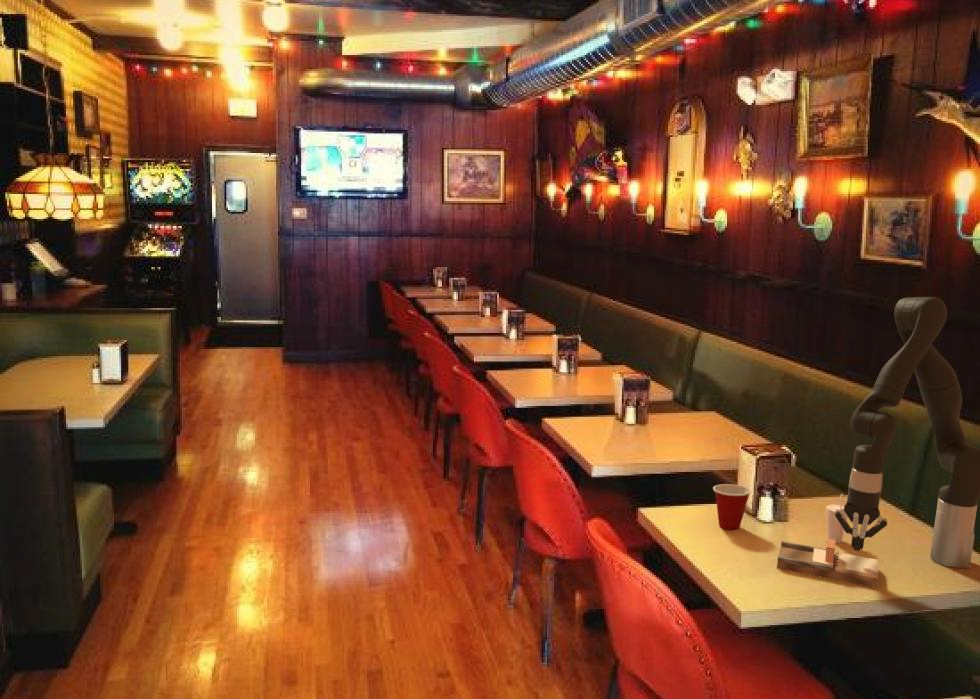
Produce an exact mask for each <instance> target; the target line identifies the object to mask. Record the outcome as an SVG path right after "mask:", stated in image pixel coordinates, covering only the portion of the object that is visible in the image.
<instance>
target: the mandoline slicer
mask: <svg viewBox="0 0 980 699" xmlns="http://www.w3.org/2000/svg"><path fill="white" fill-rule="evenodd" d="M780 543H781V544H780V548H779V553H778V556H777V563H776V569H777V570H778V569H779V570H784V571H788V572H794V573H798V572H799V574H803V573H805V575H809V574H811V575H810V576H814V575H815V577H819V576H821V577H820V578H824V577H825V578H826V579H829V578H830V580H835V581H839V582H844V581H845V582H844V583H850V584H854V585H861V586H864V587H865V586H866V587H871V588H874V589H875V588H876V589H877V587H878V582H879V567H878V559H875V558H869V557H865V556H860V555H859V556H858V555H853V554H848V553H843V552H836V551H835V552H836V553H834V561H833V566H827V565H822V564H817V563H812V561H813V553H814V548H816V549H822V550H826V548H822V547H821V548H820V547H816V546H812V545H811V546H810V545H804V544H800V543H795V542H788V541H784V540H782V541H781V542H780ZM825 578H824V579H825Z"/></svg>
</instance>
